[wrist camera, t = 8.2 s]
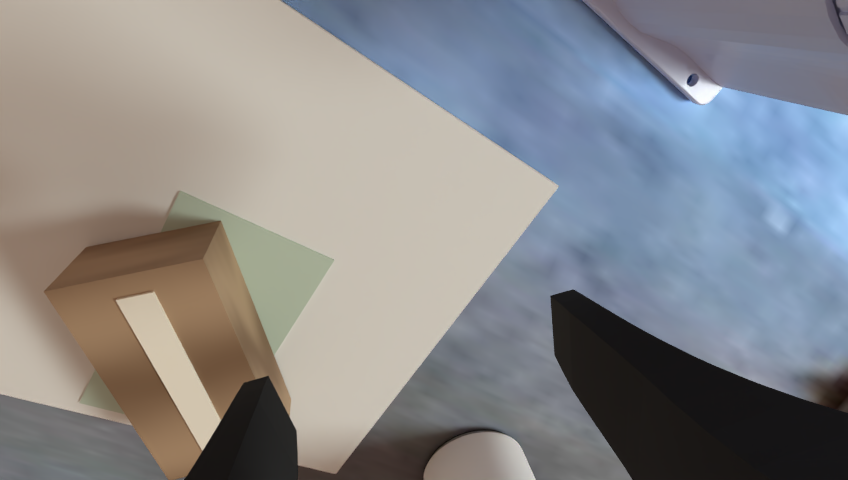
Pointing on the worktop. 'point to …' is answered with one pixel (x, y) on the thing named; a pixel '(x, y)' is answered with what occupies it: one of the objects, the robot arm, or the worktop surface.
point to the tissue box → (168, 334)
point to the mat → (245, 193)
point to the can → (479, 458)
